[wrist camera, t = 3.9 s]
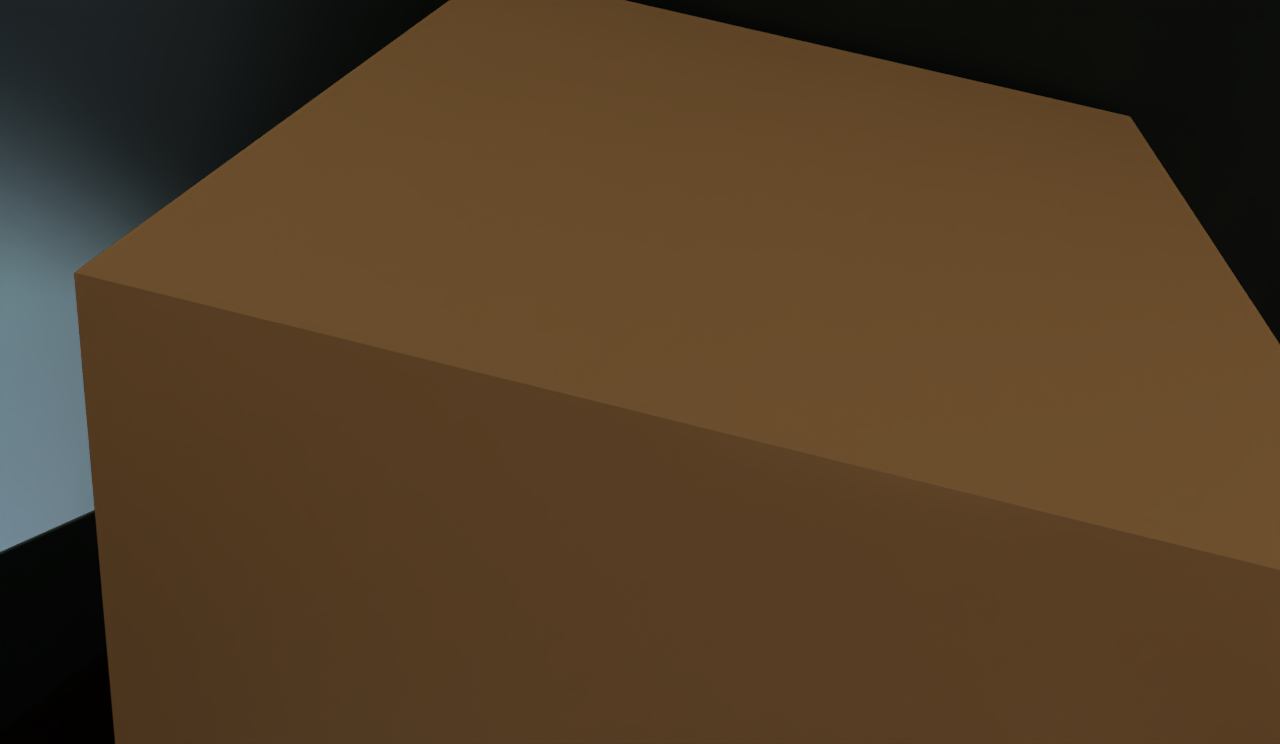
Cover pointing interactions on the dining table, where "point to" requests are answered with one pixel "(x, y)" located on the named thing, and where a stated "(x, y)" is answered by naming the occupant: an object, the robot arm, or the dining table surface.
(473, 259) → the orange bar
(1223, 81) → the dining table surface
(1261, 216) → the dining table surface
